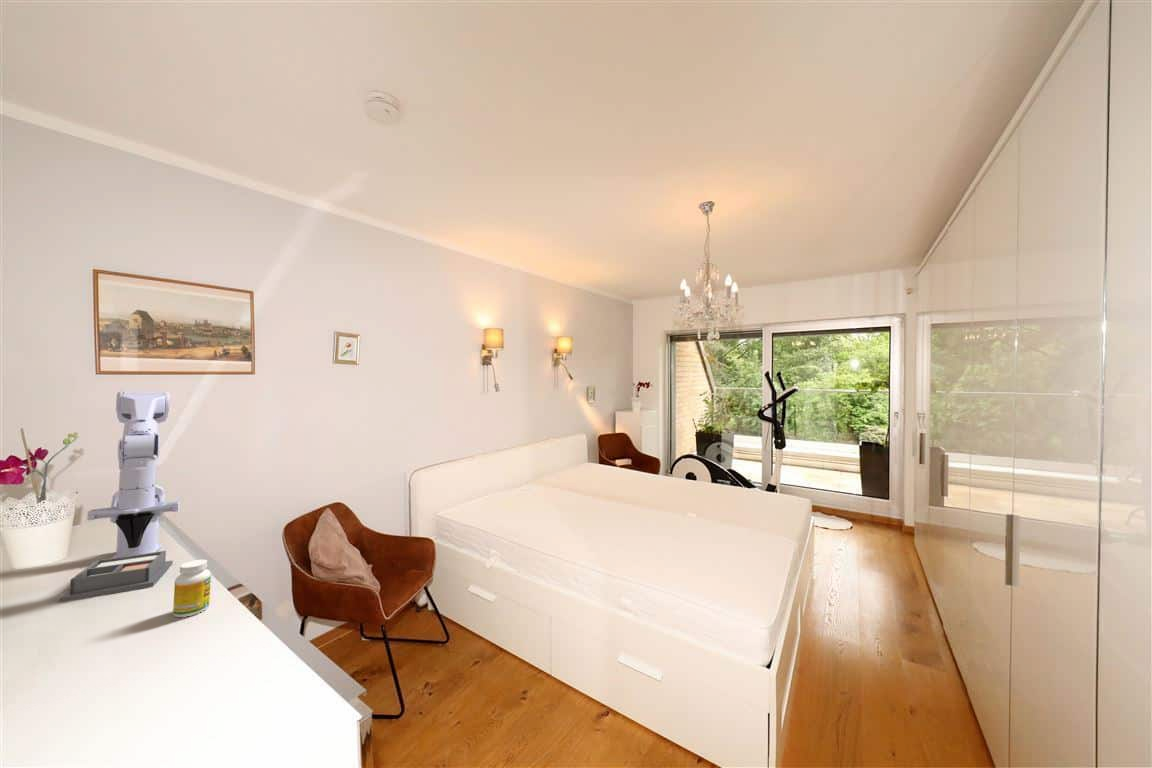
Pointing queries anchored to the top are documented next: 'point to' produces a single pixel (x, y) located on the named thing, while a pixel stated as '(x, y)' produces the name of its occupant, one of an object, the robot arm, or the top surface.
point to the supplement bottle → (192, 589)
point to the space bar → (127, 561)
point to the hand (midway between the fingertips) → (134, 546)
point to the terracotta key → (135, 567)
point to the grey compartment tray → (116, 577)
